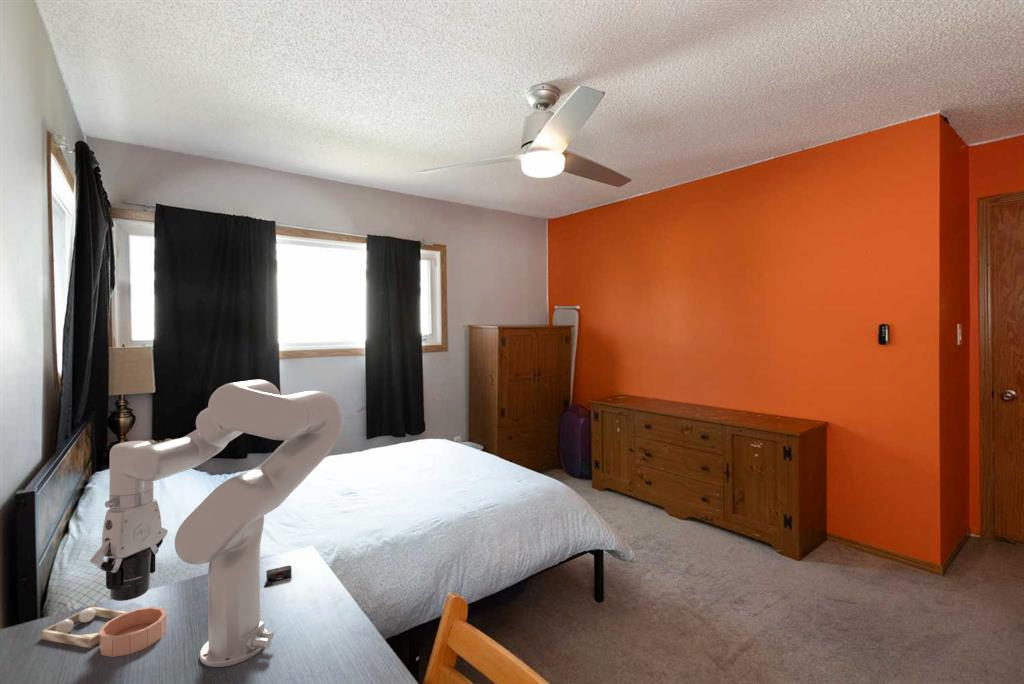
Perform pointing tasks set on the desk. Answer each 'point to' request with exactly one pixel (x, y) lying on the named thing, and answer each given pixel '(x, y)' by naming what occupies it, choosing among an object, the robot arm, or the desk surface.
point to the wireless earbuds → (277, 575)
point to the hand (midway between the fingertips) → (131, 579)
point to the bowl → (132, 631)
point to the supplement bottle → (133, 576)
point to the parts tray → (79, 640)
